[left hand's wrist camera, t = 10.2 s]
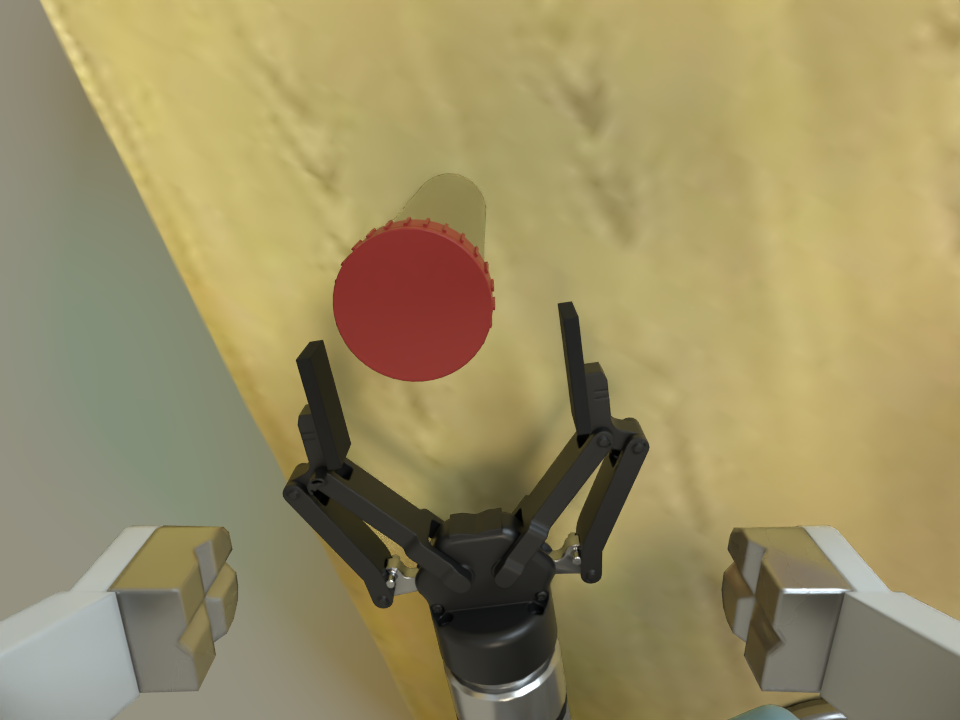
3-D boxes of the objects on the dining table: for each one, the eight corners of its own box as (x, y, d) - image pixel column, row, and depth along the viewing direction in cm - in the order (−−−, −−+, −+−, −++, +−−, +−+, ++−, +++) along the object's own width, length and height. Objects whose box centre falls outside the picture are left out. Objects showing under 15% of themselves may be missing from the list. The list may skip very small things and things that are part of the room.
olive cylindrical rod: (491, 180, 37) (493, 249, 19) (479, 251, 38) (470, 377, 21) (419, 167, 37) (352, 225, 19) (409, 239, 38) (340, 355, 20)
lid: (507, 231, 20) (508, 241, 19) (480, 375, 22) (479, 395, 20) (349, 203, 20) (338, 211, 18) (335, 351, 22) (323, 370, 20)
